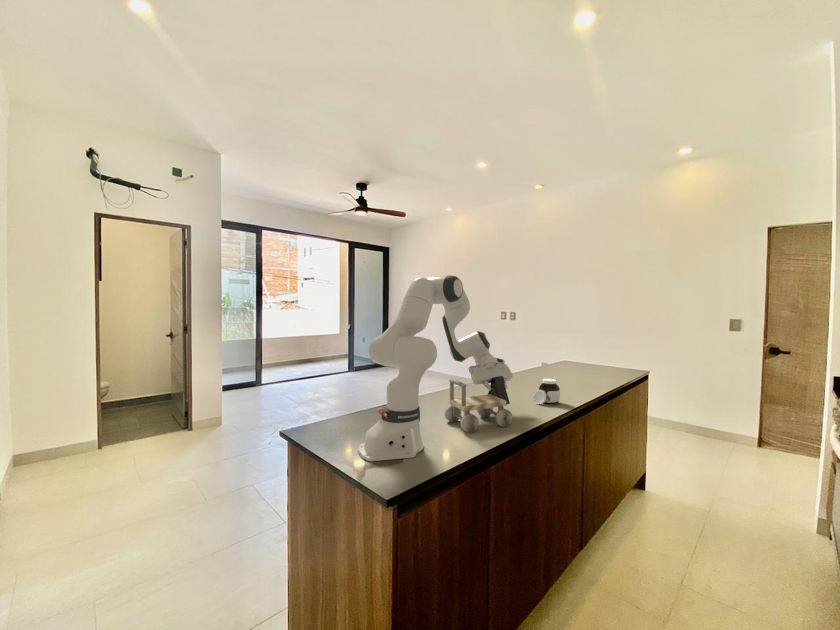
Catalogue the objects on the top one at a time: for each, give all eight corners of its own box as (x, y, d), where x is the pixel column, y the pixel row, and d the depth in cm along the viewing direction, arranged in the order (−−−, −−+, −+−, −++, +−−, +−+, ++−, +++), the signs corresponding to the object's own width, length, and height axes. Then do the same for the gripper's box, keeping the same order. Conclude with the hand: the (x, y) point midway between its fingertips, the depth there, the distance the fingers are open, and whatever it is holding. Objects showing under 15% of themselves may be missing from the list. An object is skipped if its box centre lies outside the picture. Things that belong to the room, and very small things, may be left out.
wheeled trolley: (463, 434, 137) (462, 385, 137) (444, 421, 152) (444, 377, 152) (512, 425, 146) (512, 380, 146) (490, 415, 161) (490, 373, 160)
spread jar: (561, 402, 181) (561, 379, 181) (556, 407, 171) (556, 383, 171) (537, 399, 187) (537, 377, 187) (531, 404, 178) (531, 381, 177)
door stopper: (509, 403, 161) (509, 377, 160) (501, 406, 157) (501, 379, 157) (493, 399, 168) (493, 374, 167) (485, 402, 164) (485, 376, 164)
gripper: (469, 362, 164) (481, 387, 155) (506, 359, 172) (519, 383, 163) (464, 370, 168) (475, 395, 160) (501, 367, 176) (513, 391, 167)
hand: (498, 389), depth 162 cm, fingers closed on door stopper, 6 cm apart
